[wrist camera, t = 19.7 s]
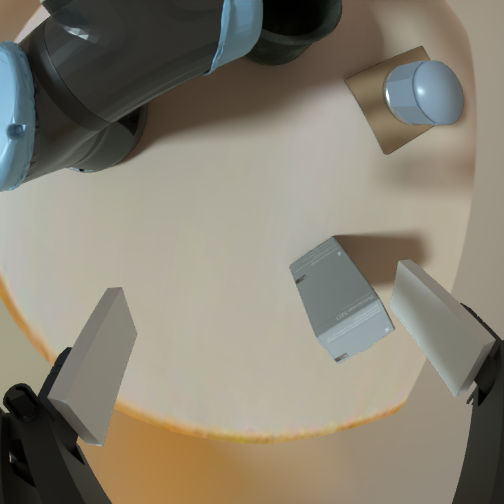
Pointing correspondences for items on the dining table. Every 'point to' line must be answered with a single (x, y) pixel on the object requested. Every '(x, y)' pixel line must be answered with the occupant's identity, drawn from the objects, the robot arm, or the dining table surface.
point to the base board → (373, 105)
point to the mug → (293, 28)
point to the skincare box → (339, 301)
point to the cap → (426, 93)
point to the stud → (387, 101)
